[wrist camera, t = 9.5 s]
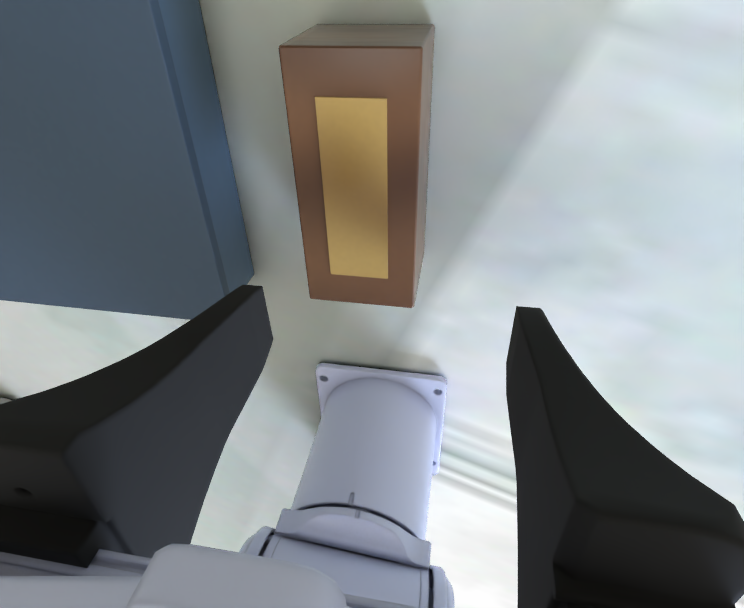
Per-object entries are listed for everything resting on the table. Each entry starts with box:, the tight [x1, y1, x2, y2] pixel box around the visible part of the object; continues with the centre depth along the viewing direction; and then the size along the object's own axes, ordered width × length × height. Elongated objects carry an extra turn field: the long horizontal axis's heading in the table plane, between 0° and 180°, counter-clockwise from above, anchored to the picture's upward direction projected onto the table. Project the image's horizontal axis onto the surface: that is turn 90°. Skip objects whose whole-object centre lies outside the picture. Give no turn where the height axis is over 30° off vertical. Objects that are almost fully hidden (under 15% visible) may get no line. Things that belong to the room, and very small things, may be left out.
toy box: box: [0, 0, 254, 320], centre depth 22 cm, size 15×15×4 cm
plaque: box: [279, 24, 435, 308], centre depth 20 cm, size 10×5×5 cm, turn 2°
